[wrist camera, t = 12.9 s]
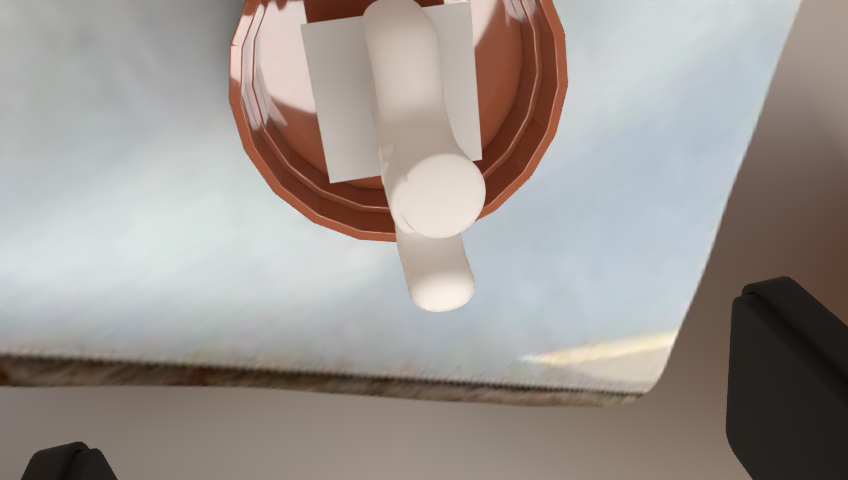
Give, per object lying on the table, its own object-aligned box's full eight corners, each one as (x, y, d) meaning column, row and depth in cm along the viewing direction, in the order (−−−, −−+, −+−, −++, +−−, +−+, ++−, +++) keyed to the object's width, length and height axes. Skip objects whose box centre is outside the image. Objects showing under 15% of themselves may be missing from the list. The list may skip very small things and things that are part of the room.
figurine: (452, -37, 32) (550, 24, 19) (468, 153, 36) (556, 310, 23) (296, -16, 31) (285, 62, 18) (332, 175, 36) (343, 347, 23)
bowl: (199, -66, 30) (180, -57, 26) (521, -127, 31) (555, -127, 27) (284, 223, 37) (280, 269, 33) (545, 169, 38) (575, 207, 34)
